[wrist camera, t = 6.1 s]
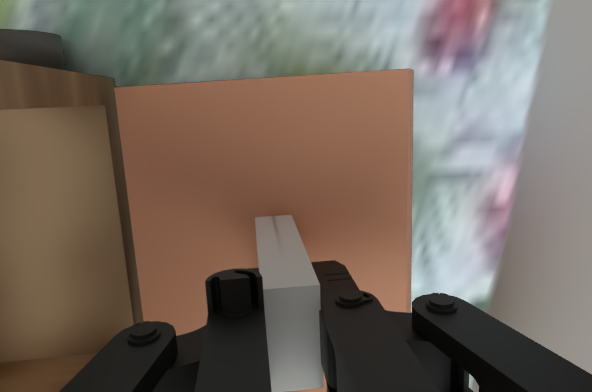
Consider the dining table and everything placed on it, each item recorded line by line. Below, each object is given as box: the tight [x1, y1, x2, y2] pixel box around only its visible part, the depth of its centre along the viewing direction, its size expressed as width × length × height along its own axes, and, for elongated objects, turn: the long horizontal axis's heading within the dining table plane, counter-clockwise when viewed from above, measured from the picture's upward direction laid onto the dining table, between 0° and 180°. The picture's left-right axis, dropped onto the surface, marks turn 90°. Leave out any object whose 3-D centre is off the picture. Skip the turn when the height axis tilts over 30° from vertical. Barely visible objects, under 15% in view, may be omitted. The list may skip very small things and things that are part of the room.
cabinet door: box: [114, 69, 414, 392], centre depth 19 cm, size 2×13×12 cm
